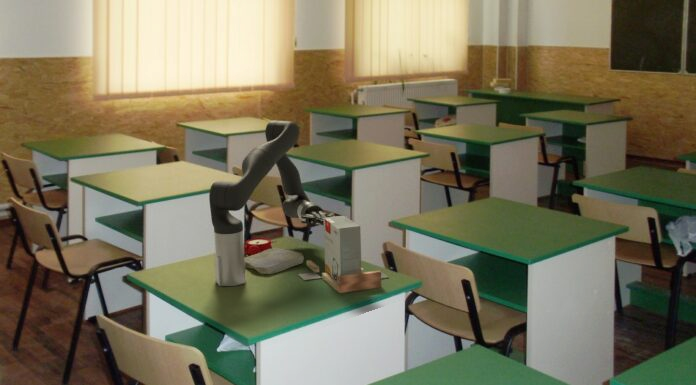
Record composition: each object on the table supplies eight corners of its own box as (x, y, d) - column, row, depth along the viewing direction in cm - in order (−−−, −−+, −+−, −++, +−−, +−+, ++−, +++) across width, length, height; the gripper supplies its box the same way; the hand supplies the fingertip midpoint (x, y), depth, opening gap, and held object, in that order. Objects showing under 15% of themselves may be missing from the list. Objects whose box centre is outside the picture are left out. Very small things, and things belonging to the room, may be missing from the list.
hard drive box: (324, 276, 272) (322, 217, 268) (346, 273, 275) (344, 214, 271) (339, 289, 258) (338, 227, 254) (362, 286, 261) (361, 225, 256)
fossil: (232, 270, 286) (264, 276, 274) (231, 257, 285) (263, 263, 273) (275, 259, 300) (308, 265, 288) (274, 247, 299) (307, 252, 287)
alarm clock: (280, 240, 306) (253, 240, 293) (278, 256, 306) (251, 257, 293) (259, 236, 312) (232, 236, 299) (257, 253, 312) (230, 253, 299)
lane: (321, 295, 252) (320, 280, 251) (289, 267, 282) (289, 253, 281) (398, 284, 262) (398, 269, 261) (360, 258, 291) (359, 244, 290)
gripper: (292, 204, 294) (307, 213, 278) (327, 201, 299) (344, 210, 283) (292, 225, 296) (308, 235, 280) (327, 221, 300) (344, 231, 284)
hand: (326, 222), depth 281 cm, fingers closed
